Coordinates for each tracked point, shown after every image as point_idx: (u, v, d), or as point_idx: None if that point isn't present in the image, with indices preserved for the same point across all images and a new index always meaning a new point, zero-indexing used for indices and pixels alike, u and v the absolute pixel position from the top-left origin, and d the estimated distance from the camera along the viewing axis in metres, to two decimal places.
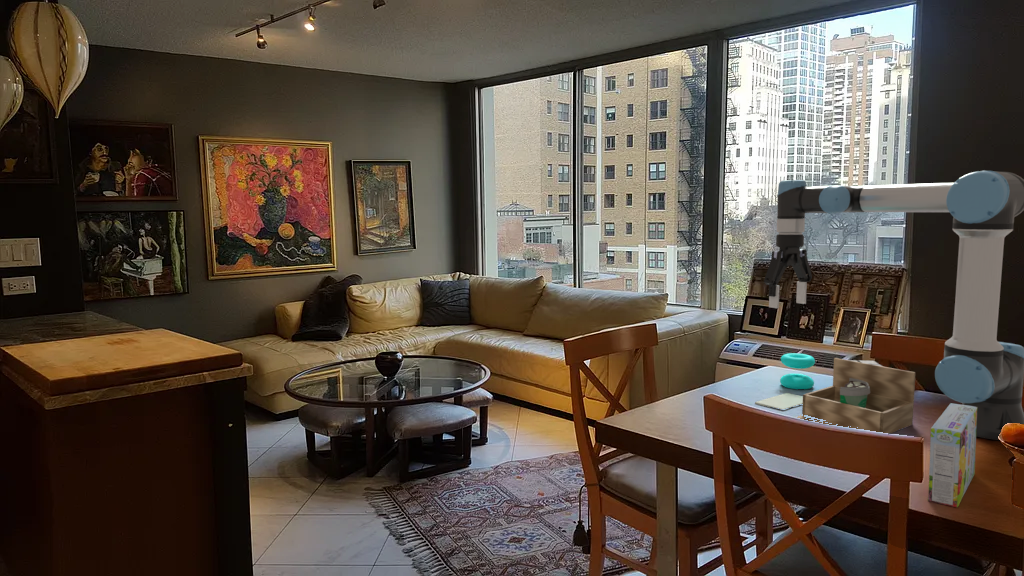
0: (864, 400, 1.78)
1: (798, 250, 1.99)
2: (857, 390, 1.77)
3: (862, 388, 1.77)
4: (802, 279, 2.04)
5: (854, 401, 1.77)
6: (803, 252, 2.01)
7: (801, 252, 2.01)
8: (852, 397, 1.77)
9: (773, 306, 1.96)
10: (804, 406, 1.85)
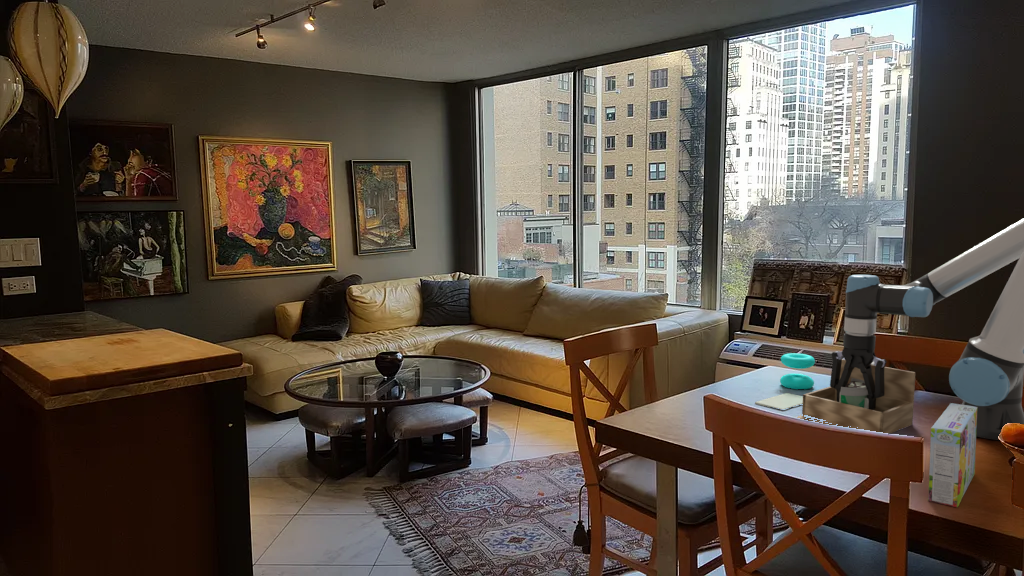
0: None
1: (868, 354, 1.76)
2: (858, 390, 1.76)
3: (863, 388, 1.77)
4: None
5: (854, 401, 1.77)
6: None
7: (876, 361, 1.75)
8: (853, 397, 1.77)
9: None
10: (804, 406, 1.85)
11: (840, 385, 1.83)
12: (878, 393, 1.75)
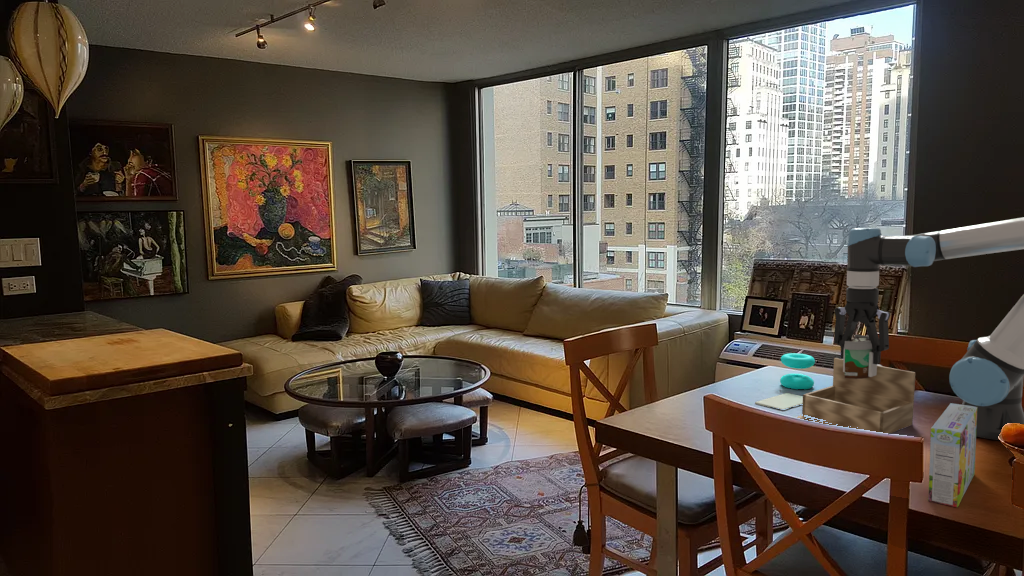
0: None
1: (871, 307, 1.75)
2: (862, 344, 1.75)
3: (867, 342, 1.75)
4: None
5: (859, 355, 1.75)
6: None
7: (880, 314, 1.74)
8: (857, 351, 1.75)
9: None
10: (804, 406, 1.85)
11: (844, 341, 1.81)
12: (882, 346, 1.73)
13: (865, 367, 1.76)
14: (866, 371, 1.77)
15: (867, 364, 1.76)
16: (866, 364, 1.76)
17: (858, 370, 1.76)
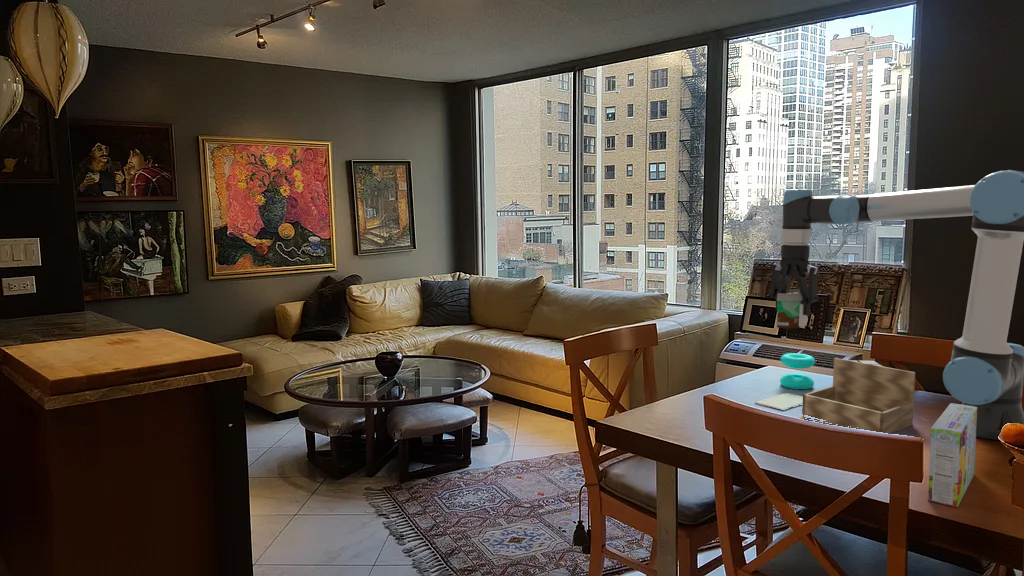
0: None
1: (802, 262, 1.89)
2: (793, 296, 1.89)
3: (798, 294, 1.90)
4: None
5: (790, 306, 1.90)
6: None
7: (810, 268, 1.88)
8: (788, 302, 1.90)
9: None
10: (804, 406, 1.85)
11: None
12: (811, 298, 1.88)
13: (796, 318, 1.91)
14: (797, 321, 1.92)
15: (798, 315, 1.91)
16: (797, 315, 1.91)
17: (789, 320, 1.91)
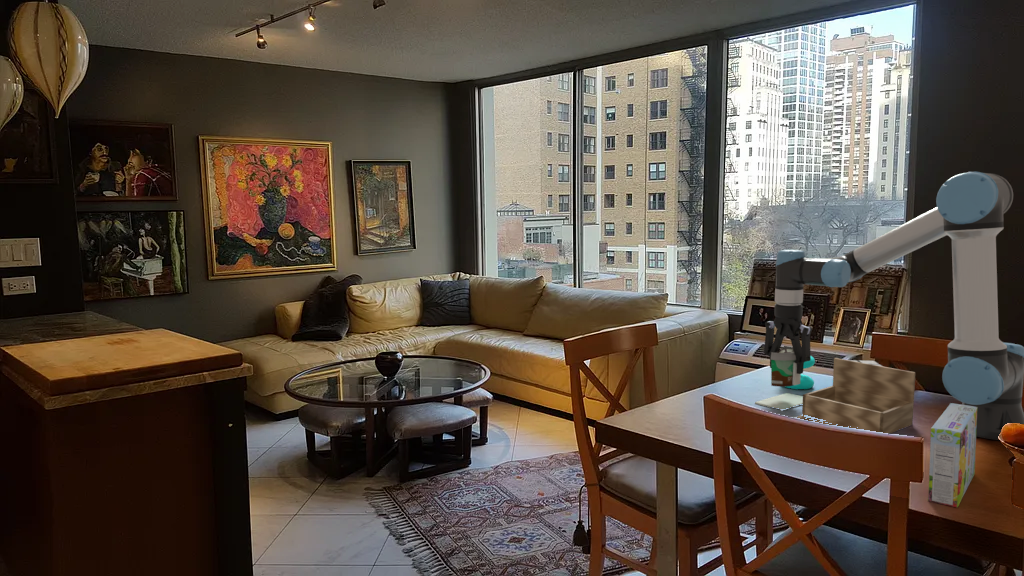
0: None
1: (795, 322, 1.93)
2: (786, 355, 1.93)
3: (791, 353, 1.93)
4: None
5: (783, 365, 1.93)
6: None
7: (803, 328, 1.92)
8: (782, 362, 1.93)
9: None
10: (804, 406, 1.85)
11: None
12: (804, 357, 1.91)
13: (789, 376, 1.94)
14: (790, 380, 1.95)
15: (791, 373, 1.94)
16: (790, 373, 1.94)
17: (783, 379, 1.94)
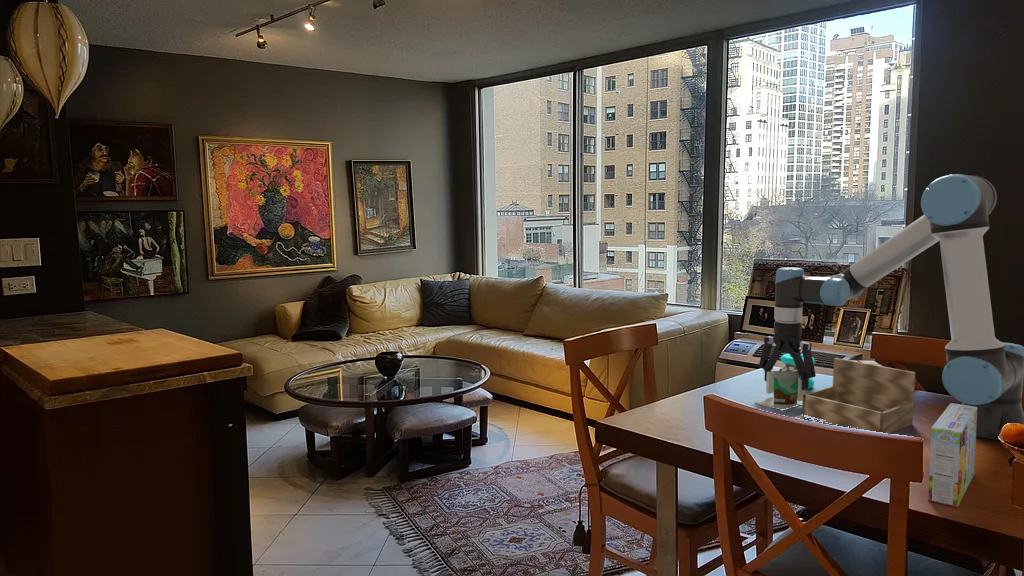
0: (796, 383, 1.94)
1: (794, 340, 1.93)
2: (789, 373, 1.93)
3: (793, 372, 1.93)
4: None
5: (786, 383, 1.93)
6: None
7: (803, 345, 1.92)
8: (784, 380, 1.93)
9: None
10: (804, 406, 1.85)
11: (767, 366, 2.01)
12: (809, 374, 1.90)
13: (792, 395, 1.94)
14: (793, 398, 1.95)
15: (794, 391, 1.94)
16: (793, 391, 1.94)
17: (785, 397, 1.94)
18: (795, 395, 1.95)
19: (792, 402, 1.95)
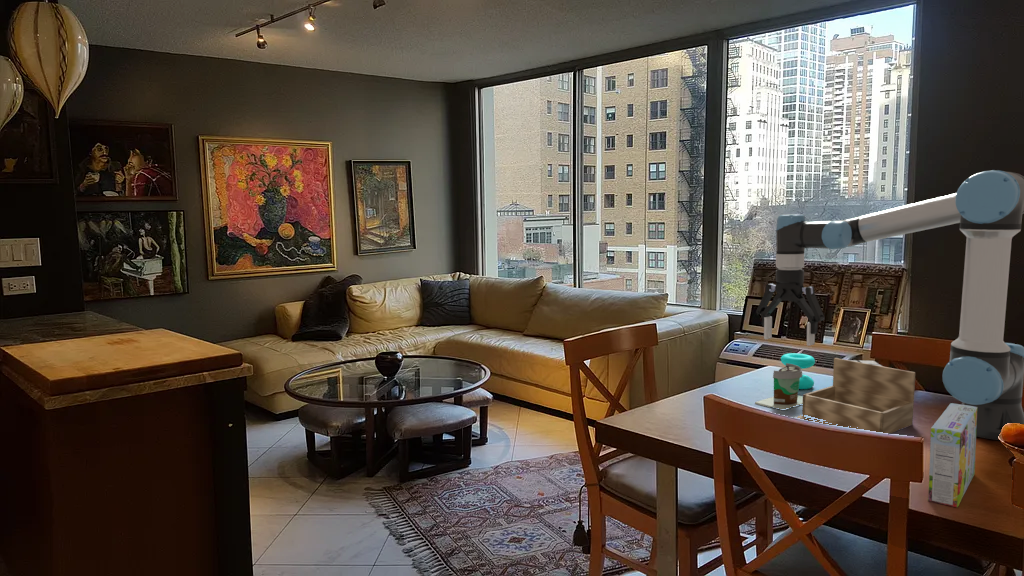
0: (796, 383, 1.94)
1: (796, 287, 1.92)
2: (789, 373, 1.93)
3: (793, 372, 1.93)
4: None
5: (786, 383, 1.93)
6: None
7: None
8: (784, 380, 1.93)
9: None
10: (804, 406, 1.85)
11: (765, 312, 2.00)
12: (817, 316, 1.87)
13: (792, 395, 1.94)
14: (793, 398, 1.95)
15: (794, 391, 1.94)
16: (793, 391, 1.94)
17: (785, 397, 1.94)
18: (795, 395, 1.95)
19: (792, 402, 1.95)
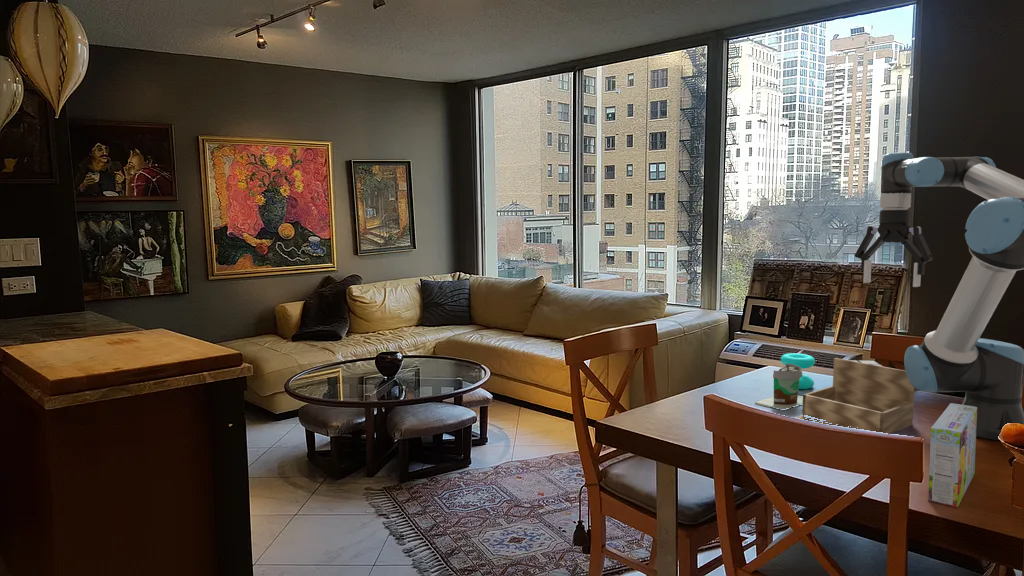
0: (796, 383, 1.94)
1: (902, 227, 1.88)
2: (788, 373, 1.93)
3: (793, 372, 1.93)
4: None
5: (786, 383, 1.93)
6: None
7: (913, 230, 1.86)
8: (784, 380, 1.93)
9: None
10: (804, 406, 1.85)
11: (866, 255, 1.96)
12: (926, 256, 1.83)
13: (792, 395, 1.94)
14: (793, 398, 1.95)
15: (794, 391, 1.94)
16: (793, 391, 1.94)
17: (785, 397, 1.94)
18: (795, 395, 1.95)
19: (792, 402, 1.95)
